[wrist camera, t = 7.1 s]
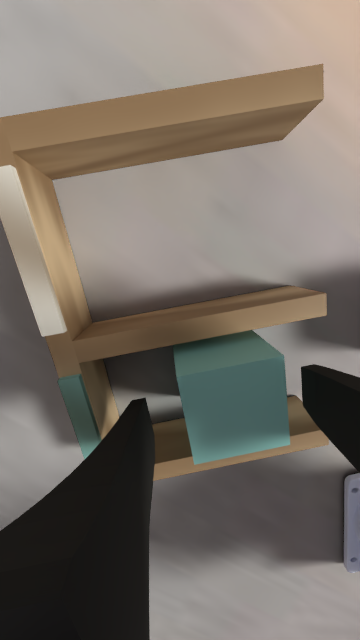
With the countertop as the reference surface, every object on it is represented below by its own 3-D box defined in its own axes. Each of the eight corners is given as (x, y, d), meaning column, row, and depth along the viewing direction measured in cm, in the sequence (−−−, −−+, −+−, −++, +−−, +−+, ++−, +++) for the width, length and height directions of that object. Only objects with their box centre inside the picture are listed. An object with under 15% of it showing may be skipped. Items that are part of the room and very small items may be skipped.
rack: (296, 409, 15) (332, 449, 12) (111, 446, 15) (96, 497, 12) (280, 115, 11) (329, 56, 8) (22, 159, 11) (-37, 117, 8)
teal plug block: (247, 383, 14) (290, 444, 10) (183, 395, 14) (194, 464, 10) (240, 321, 13) (283, 355, 9) (171, 334, 13) (176, 377, 9)
